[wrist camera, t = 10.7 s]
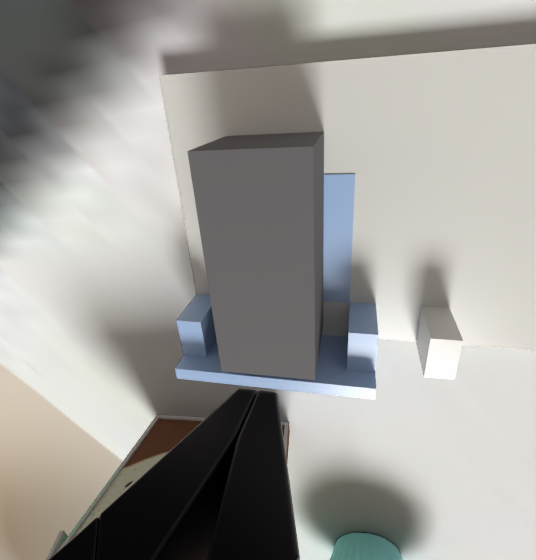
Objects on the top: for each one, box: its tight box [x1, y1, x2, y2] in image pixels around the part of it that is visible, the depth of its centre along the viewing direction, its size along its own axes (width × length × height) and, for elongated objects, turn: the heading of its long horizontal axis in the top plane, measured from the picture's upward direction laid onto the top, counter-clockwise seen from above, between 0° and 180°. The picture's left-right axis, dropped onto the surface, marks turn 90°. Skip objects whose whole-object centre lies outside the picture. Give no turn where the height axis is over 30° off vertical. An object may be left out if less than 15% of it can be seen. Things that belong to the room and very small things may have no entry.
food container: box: [46, 414, 289, 560], centre depth 22 cm, size 12×6×10 cm, turn 99°
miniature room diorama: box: [159, 44, 536, 400], centre depth 14 cm, size 20×13×4 cm, turn 94°
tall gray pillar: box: [187, 132, 324, 380], centre depth 15 cm, size 4×9×4 cm, turn 4°
